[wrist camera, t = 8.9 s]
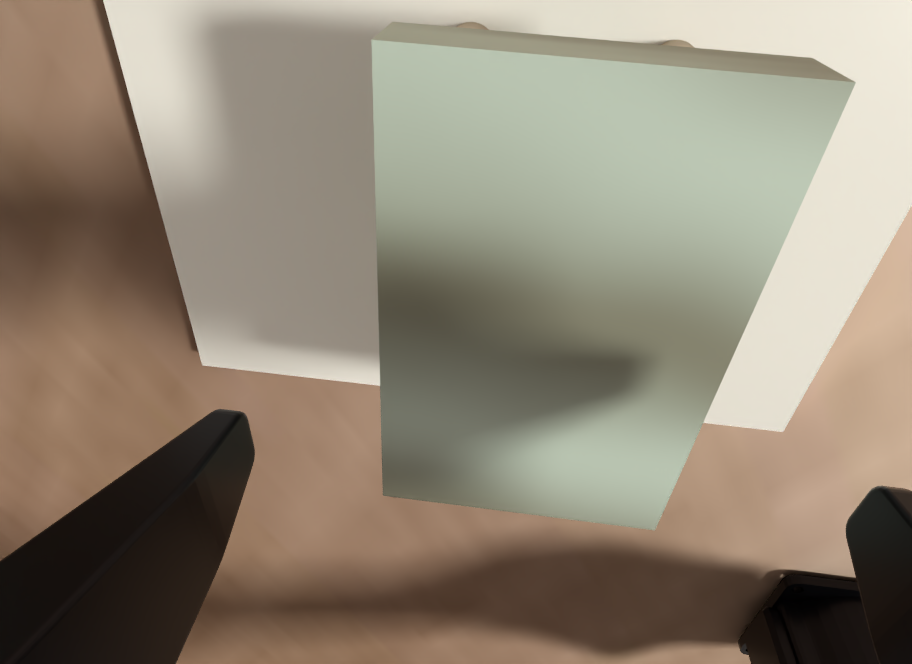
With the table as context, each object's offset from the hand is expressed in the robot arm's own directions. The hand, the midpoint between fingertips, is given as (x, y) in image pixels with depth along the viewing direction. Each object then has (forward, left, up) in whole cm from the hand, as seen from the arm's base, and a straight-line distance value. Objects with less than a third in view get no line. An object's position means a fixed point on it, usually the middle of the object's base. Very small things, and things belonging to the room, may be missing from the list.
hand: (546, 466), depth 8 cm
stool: (0, 0, -9) cm, 9 cm away
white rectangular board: (+1, 0, -10) cm, 10 cm away
